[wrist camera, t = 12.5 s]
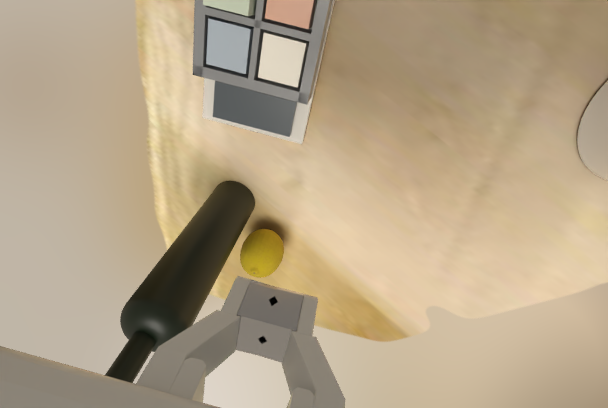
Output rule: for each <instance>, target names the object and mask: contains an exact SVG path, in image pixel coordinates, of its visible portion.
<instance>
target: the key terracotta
mask: <svg viewBox="0 0 608 408" xmlns="http://www.w3.org/2000/svg"><path fill="white" fill-rule="evenodd" d="M316 3H317V0H267V5H266V13H265V18H266V19H270V20H274V21H277V22H281V23H285V24H289V25H293V26H297V27H301V28H305V29H310V28H311V27H312V23H313V18H314V13H315V8H316Z"/></svg>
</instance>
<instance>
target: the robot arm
mask: <svg viewBox="0 0 608 408" xmlns="http://www.w3.org/2000/svg"><path fill="white" fill-rule="evenodd" d="M577 144H578V151H579V154H580V157H581V159H582V161H583V163H584V164H585V166H586V167H587V168H588V169H589V170H590V171H591V172H592V173H594V174H595V175H596V176H598V177H600V178H602V179H604V180H607V181H608V81H607V82H606V83H605V84H604V85H603V86H602V87H601V88H600V90H599V91H598V92H597V93H596V95H595V96H594V97H593V99H592V100H591V102H590V103H589V105H588V107H587V108H586V110H585V112H584V114H583V117H582V119H581V122H580V125H579V130H578V137H577ZM317 303H318V298H317V297H313V296H309V295H306V294H302V293H299V292H295V291H291V290H287V289H283V288H279V287H274V286H271V285H268V284H264V283H261V282H258V281H254V280H250V279H247V278H244V277H240V276H238V277H237V278H236V279H235V281H234V284H233V286H232V288H231V290H230V292H229V294H228V297H227V299H226V301H225V303H224V306H223V308H222V310H221V311H218V310H216V311H214V312H213V313H211V314H210V315H208V316H207V317H205V318H203V319H202V320H200V321H199V322H197V323H195V324H194V325H192V326H191V327H189V328H187V329H186V330H184V331H183V332H181V333H179V334H178V335H176V336H175V337H173V338H171V339H170V340H168V341H167V342H165V343H163V344H162V345H160V346H159V347H158V348H157V350H156V351H155V353H154V355H153V357H152V358H151V360H150V361H149V363H148V365H147V366H146V368H145V370H144V371H143V373H142V375H141V376H140V378H139V380H138V382H137V383H136V384H134V383H130V382H127V381H123V380H119V379H116V378H112V377H109V376H105V375H101V374H98V373H94V372H91V371H87V370H84V369H80V368H77V367H73V366H69V365H66V364H62V363H59V362H55V361H51V360H48V359H44V358H41V357H37V356H34V355H30V354H27V353H23V352H20V351H16V350H13V349H9V348H5V347H2V346H0V408H220V407H216V406H212V405H208V404H205V403H203V394H204V384H205V377H206V376H207V375H208V374H209V373H211V372H212V371H213V370H214V369H215V368H217V367H218V366H219V365H220V364H221V363H222V362H223V361H225V360H226V359H227V358H228V357H229V356H230V355H231V354H232V353H234V352H235V350H239V351H243V352H247V353H251V354H255V355H259V356H262V357H265V358H269V359H273V360H275V361H279V362H282V366H283V369H284V373H285V376H286V380H287V383H288V386H289V390H290V394H291V398H290V400H289V403H288V406H287V408H345V398H344V396H343V394H342V391H341V389H340V387H339V385H338V383H337V381H336V379H335V376H334V374H333V372H332V370H331V368H330V366H329V364H328V362H327V359H326V357H325V355H324V353H323V351H322V349H321V347H320V345H319V342H318V340H317V338H316V337H313V336H312V334H313V328H314V322H315V315H316V309H317Z"/></svg>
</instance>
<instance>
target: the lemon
mask: <svg viewBox="0 0 608 408" xmlns="http://www.w3.org/2000/svg"><path fill="white" fill-rule="evenodd" d="M283 253H284V247H283V242H282V240H281V238H280V237H279V235H278V234H276V233H275V232H274V231H272V230H269V229H260V230H257V231H254V232H253V233H251V234H250V235H249V236H248V237H247V239H246V240H245V241H244V243H243V246H242V249H241V254H240V261H241V264H242V267H243V269H244V270H245V271H246V272H247V273H248V274H249V275H251V276H254V277H260V278H261V277H266V276H268V275H270V274H272V273H273V272H274V271H275V270H276V269H277V268H278V266H279V264H280V263H281V261H282V258H283Z"/></svg>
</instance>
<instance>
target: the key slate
mask: <svg viewBox="0 0 608 408" xmlns="http://www.w3.org/2000/svg"><path fill="white" fill-rule="evenodd" d="M253 31H254V27H252V26H248V25H244V24H241V23H237V22H233V21H229V20H225V19H221V18H217V17H214V18H208V36H207V57H206V64H208V65H212V66H216V67H220V68H224V69H228V70H231V71H235V72H239V73H243V74H247V73H248V72H249V66H250V57H251V49H252V40H253Z"/></svg>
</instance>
